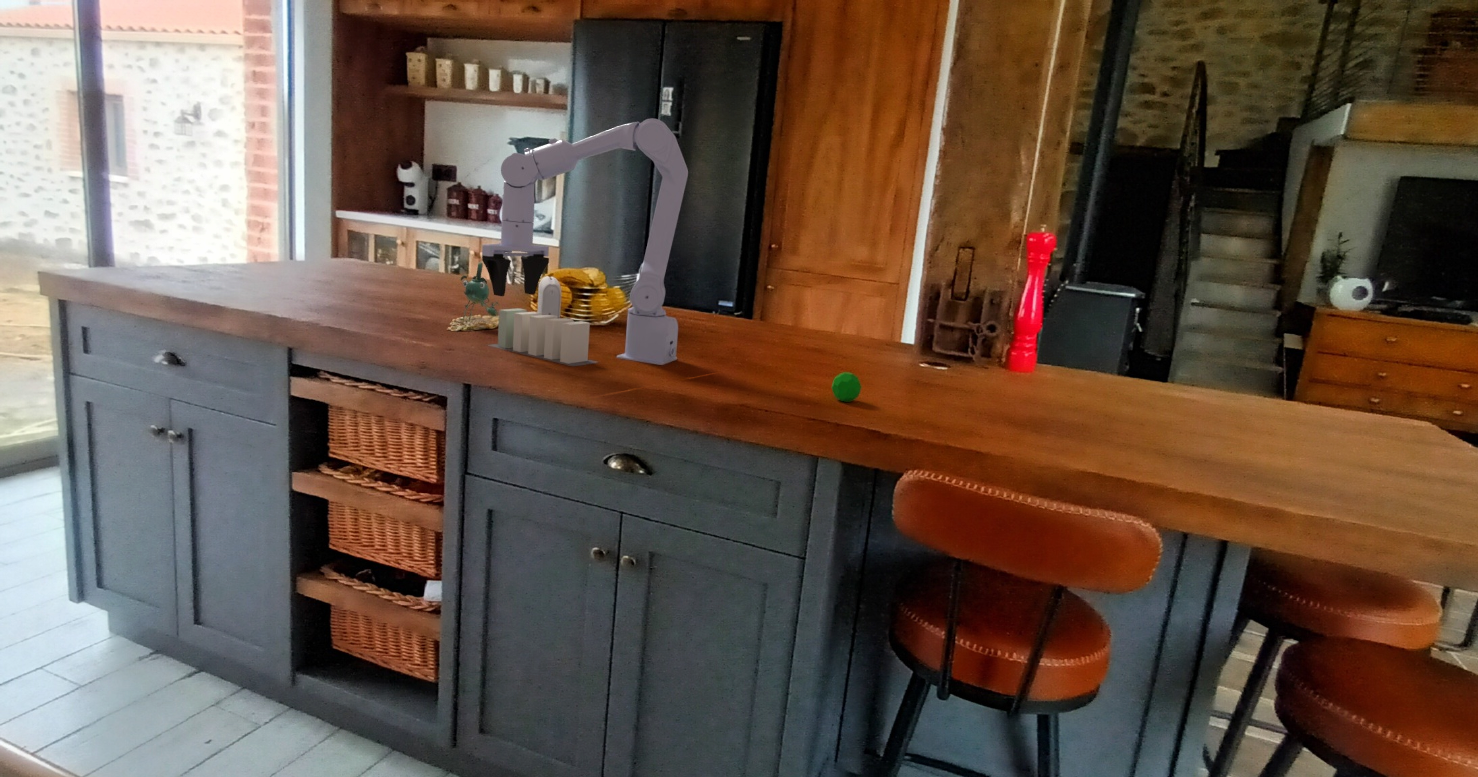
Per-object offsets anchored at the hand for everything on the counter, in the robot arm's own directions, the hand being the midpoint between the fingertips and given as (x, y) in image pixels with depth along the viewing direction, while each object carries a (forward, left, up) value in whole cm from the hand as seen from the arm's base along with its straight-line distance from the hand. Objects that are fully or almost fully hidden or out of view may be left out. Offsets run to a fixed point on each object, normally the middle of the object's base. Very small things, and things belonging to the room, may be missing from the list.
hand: (514, 294), depth 164 cm
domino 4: (-15, +4, -10) cm, 19 cm away
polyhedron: (-64, -1, -10) cm, 65 cm away
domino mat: (-7, +2, -10) cm, 13 cm away
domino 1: (-4, +1, -10) cm, 11 cm away
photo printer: (+3, -18, -10) cm, 21 cm away
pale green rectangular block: (0, 0, -10) cm, 10 cm away
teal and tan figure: (+18, -16, -10) cm, 26 cm away
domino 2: (-7, +2, -10) cm, 13 cm away
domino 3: (-11, +3, -10) cm, 15 cm away
